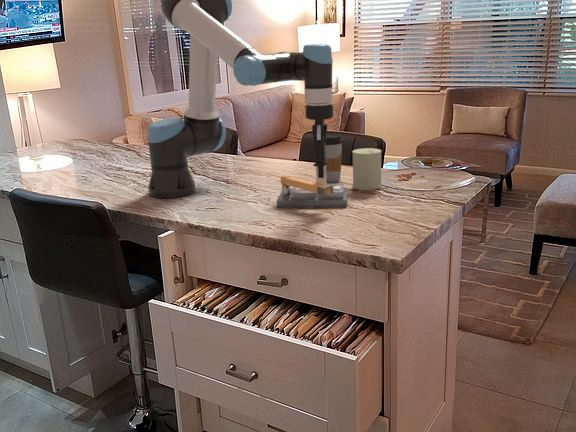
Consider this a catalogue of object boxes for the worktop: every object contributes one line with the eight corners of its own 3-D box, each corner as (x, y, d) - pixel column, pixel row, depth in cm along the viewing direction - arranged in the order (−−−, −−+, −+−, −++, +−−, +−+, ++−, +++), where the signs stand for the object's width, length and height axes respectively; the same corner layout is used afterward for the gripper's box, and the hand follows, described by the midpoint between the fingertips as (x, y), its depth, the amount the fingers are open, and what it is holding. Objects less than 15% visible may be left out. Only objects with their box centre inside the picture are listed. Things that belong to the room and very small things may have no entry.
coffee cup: (341, 183, 194) (340, 138, 190) (316, 183, 196) (315, 138, 191) (344, 177, 202) (343, 133, 198) (320, 177, 204) (319, 134, 199)
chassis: (277, 207, 170) (276, 190, 169) (283, 194, 184) (282, 178, 182) (346, 206, 168) (346, 189, 166) (347, 194, 181) (347, 177, 180)
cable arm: (277, 183, 175) (277, 177, 174) (288, 181, 177) (287, 174, 177) (322, 195, 160) (321, 188, 159) (333, 192, 162) (332, 185, 162)
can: (363, 191, 183) (363, 153, 179) (347, 185, 191) (346, 149, 187) (387, 187, 187) (387, 149, 183) (370, 181, 195) (370, 145, 191)
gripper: (332, 106, 153) (334, 194, 160) (333, 100, 165) (335, 181, 172) (303, 107, 154) (306, 194, 161) (307, 101, 166) (309, 182, 173)
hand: (321, 187), depth 167 cm, fingers closed
